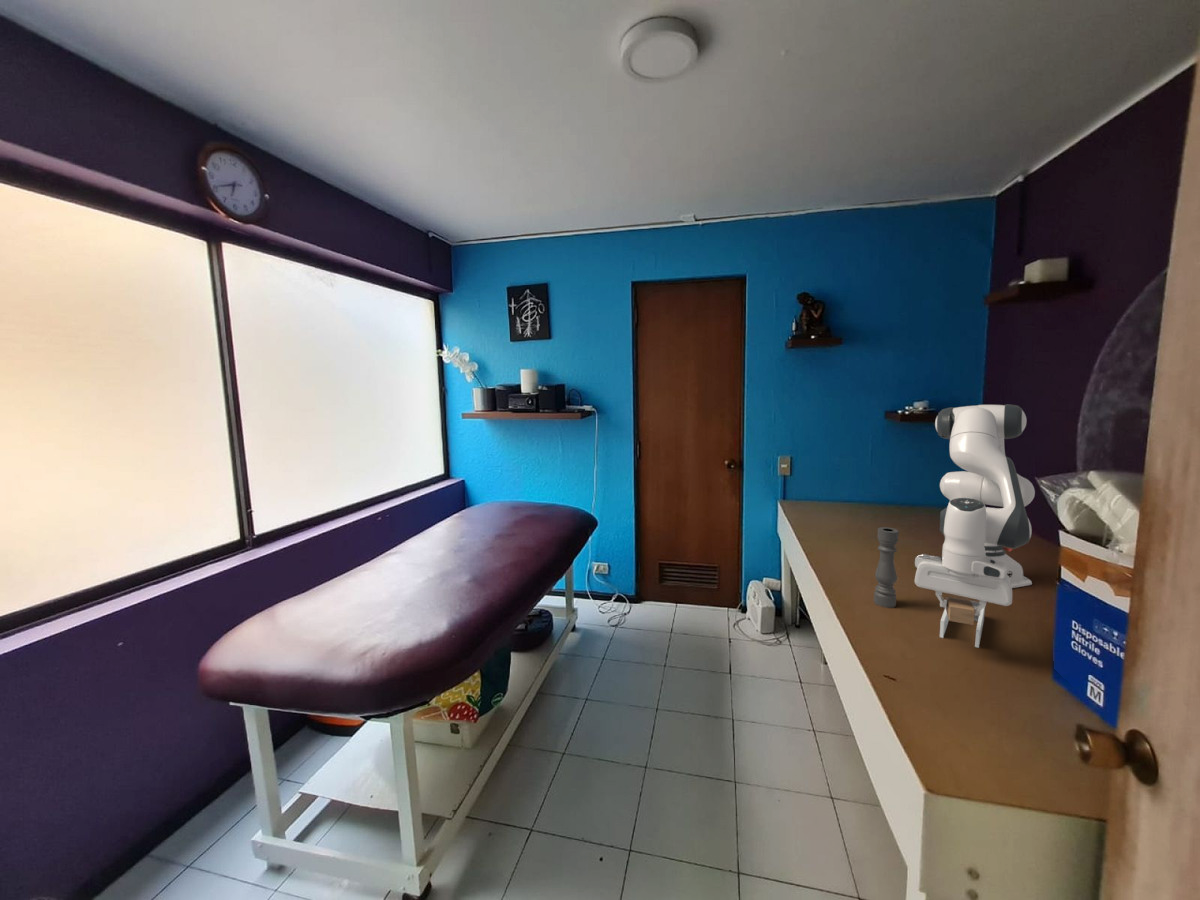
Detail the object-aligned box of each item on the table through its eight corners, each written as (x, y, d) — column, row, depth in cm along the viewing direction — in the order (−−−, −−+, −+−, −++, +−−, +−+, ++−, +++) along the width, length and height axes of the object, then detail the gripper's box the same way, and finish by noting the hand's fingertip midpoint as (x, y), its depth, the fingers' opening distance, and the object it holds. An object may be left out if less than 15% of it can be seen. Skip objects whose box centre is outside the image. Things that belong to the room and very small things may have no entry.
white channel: (948, 610, 144) (949, 595, 144) (983, 619, 139) (985, 603, 138) (939, 637, 130) (940, 620, 129) (978, 647, 124) (980, 630, 123)
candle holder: (888, 609, 147) (892, 534, 143) (869, 601, 152) (872, 529, 149) (899, 604, 149) (903, 530, 146) (880, 597, 155) (884, 525, 152)
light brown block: (945, 609, 126) (946, 595, 126) (968, 612, 124) (969, 598, 123) (949, 620, 120) (950, 606, 120) (973, 625, 118) (974, 610, 117)
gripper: (913, 555, 124) (910, 603, 126) (1014, 574, 111) (1009, 627, 113) (917, 549, 129) (914, 595, 131) (1015, 566, 115) (1010, 617, 117)
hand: (959, 610), depth 122 cm, fingers closed on light brown block, 5 cm apart
